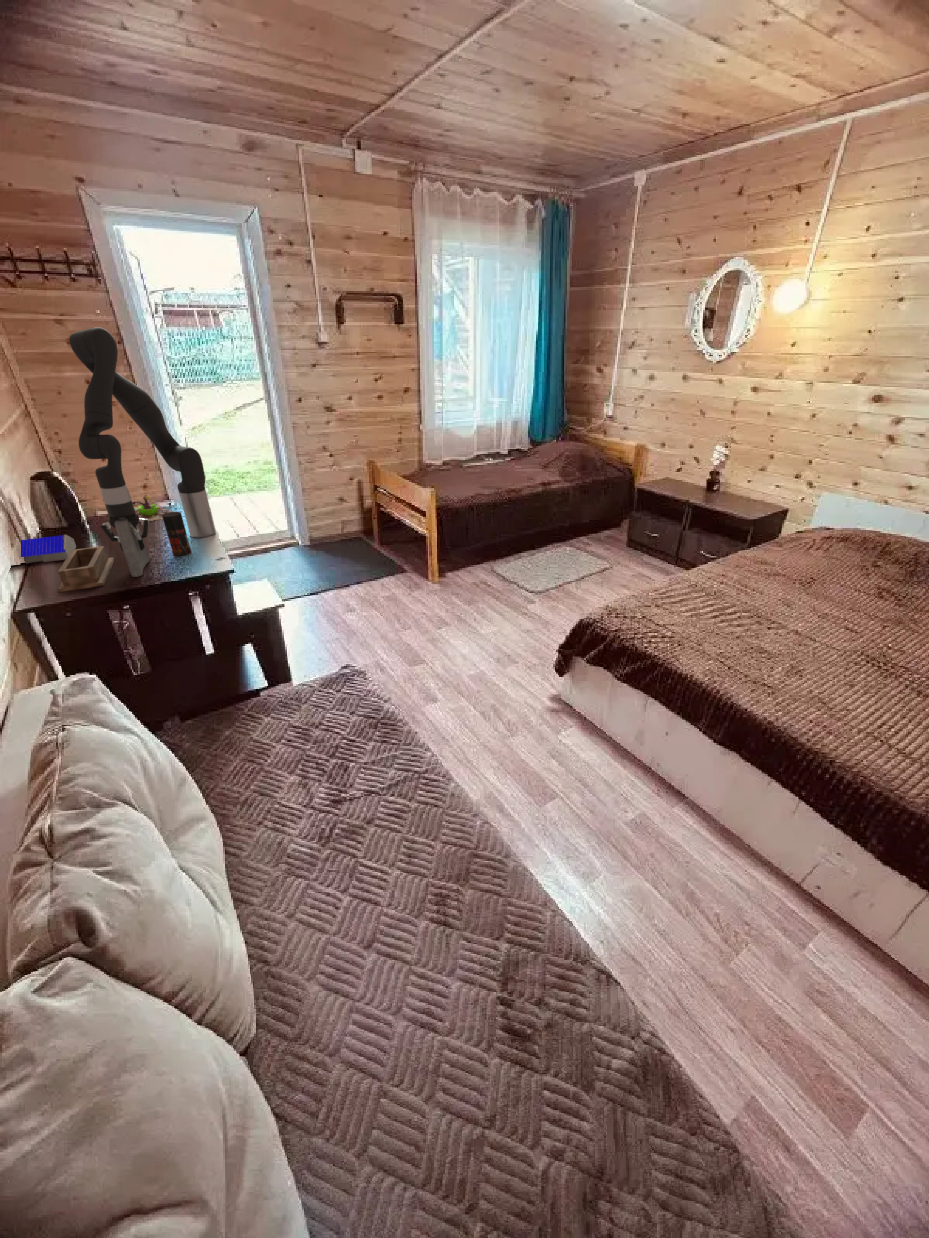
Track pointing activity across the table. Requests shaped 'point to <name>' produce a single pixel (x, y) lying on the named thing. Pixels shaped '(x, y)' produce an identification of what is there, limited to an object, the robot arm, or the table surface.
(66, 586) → the walnut open box
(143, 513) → the plant
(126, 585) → the table surface
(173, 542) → the deodorant
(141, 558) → the hip flask
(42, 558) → the blue slatted box
